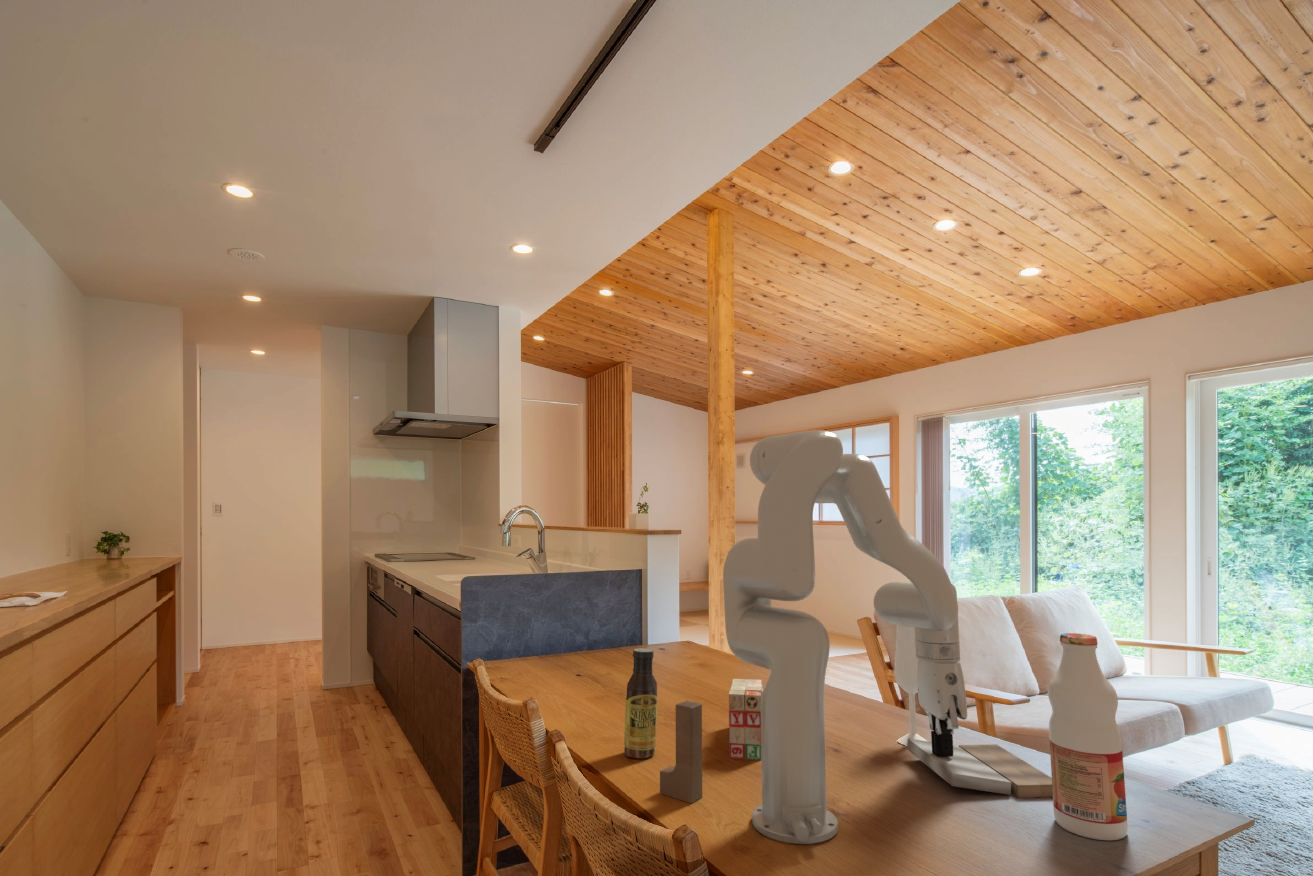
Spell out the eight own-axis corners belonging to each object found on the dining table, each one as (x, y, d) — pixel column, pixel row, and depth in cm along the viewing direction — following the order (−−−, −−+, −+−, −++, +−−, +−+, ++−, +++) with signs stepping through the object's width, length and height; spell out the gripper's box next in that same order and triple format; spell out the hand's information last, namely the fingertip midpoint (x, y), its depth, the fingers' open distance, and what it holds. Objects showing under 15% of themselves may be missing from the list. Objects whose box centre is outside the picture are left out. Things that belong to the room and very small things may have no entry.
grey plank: (1010, 795, 115) (1011, 782, 115) (952, 786, 114) (953, 773, 115) (957, 757, 133) (958, 746, 133) (906, 749, 132) (908, 738, 133)
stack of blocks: (735, 725, 153) (734, 668, 155) (764, 727, 152) (763, 669, 153) (729, 759, 132) (728, 692, 134) (762, 761, 131) (761, 694, 133)
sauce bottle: (627, 762, 130) (628, 653, 133) (620, 751, 136) (621, 647, 139) (661, 758, 132) (661, 652, 134) (652, 748, 138) (652, 646, 140)
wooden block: (702, 797, 114) (702, 703, 116) (691, 804, 111) (691, 707, 113) (670, 788, 118) (670, 697, 120) (659, 794, 115) (659, 701, 117)
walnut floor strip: (1063, 797, 114) (1062, 784, 115) (1018, 798, 114) (1018, 785, 114) (997, 755, 134) (996, 744, 134) (959, 755, 134) (958, 745, 134)
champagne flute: (900, 735, 146) (895, 619, 149) (933, 741, 143) (928, 622, 145) (893, 744, 140) (888, 623, 143) (928, 750, 137) (923, 626, 139)
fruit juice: (1044, 812, 109) (1033, 629, 112) (1109, 816, 107) (1096, 631, 110) (1069, 839, 99) (1057, 640, 102) (1141, 844, 98) (1127, 641, 101)
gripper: (978, 658, 119) (985, 770, 117) (938, 642, 134) (943, 740, 132) (936, 659, 118) (942, 771, 116) (900, 643, 133) (905, 742, 131)
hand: (942, 755), depth 124 cm, fingers closed
